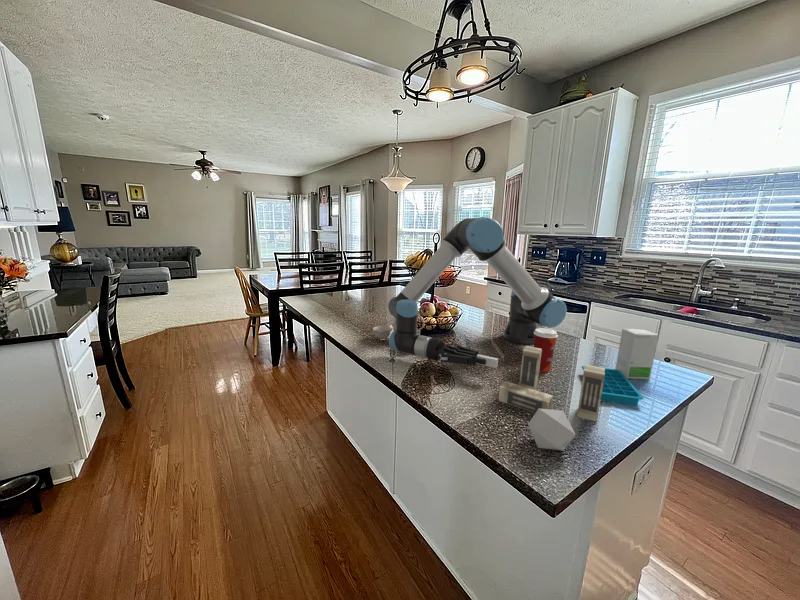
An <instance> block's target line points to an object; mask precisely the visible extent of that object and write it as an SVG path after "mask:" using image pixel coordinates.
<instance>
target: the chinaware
mask: <svg viewBox="0 0 800 600" xmlns="http://www.w3.org/2000/svg"><path fill="white" fill-rule="evenodd" d="M417 317H419V318H420V319H421V321H422V326H421V327H420V328H417V335H421V330H422V329H423V328H424V327H425V319H424V317H423V316H421V314H417ZM392 323H393V324H392V327H391V326H389V325H385V326H383V325H376V326H375V327H372V328H371V329H372V331H373V334H374V336H375V338H377V339H378V340H379V339H386V340H387V339H388V338H390V335H391V333H392V332H393V331H395V330H396V319H395V318H394V320H393V322H392Z"/></svg>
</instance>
